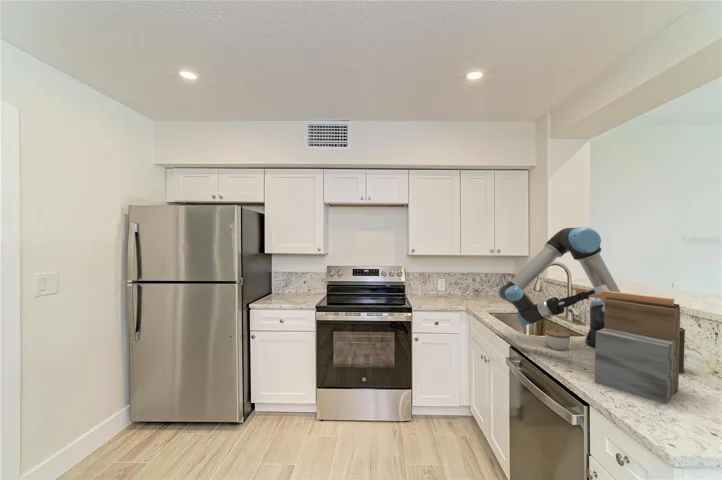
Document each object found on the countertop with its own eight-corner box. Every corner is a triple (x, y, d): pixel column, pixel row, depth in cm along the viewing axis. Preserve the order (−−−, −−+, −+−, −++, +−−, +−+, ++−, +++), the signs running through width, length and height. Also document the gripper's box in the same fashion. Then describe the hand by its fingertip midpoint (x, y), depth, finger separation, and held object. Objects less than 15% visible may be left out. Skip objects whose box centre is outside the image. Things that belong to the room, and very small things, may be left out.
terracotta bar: (578, 294, 140) (578, 287, 140) (673, 307, 116) (674, 298, 116) (575, 295, 138) (575, 287, 138) (671, 307, 114) (672, 299, 114)
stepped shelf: (611, 370, 133) (612, 295, 133) (678, 389, 117) (680, 303, 117) (594, 381, 122) (596, 299, 122) (666, 404, 106) (668, 309, 106)
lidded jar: (575, 351, 155) (575, 331, 155) (556, 352, 153) (556, 333, 153) (557, 344, 166) (557, 325, 166) (539, 345, 164) (539, 326, 164)
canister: (647, 361, 143) (648, 316, 143) (679, 366, 138) (680, 320, 138) (654, 370, 134) (655, 322, 134) (689, 376, 129) (690, 326, 129)
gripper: (563, 313, 151) (617, 294, 134) (547, 317, 141) (603, 298, 125) (554, 298, 154) (606, 278, 137) (538, 301, 144) (592, 280, 128)
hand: (605, 287), depth 131 cm, fingers closed on terracotta bar, 3 cm apart
